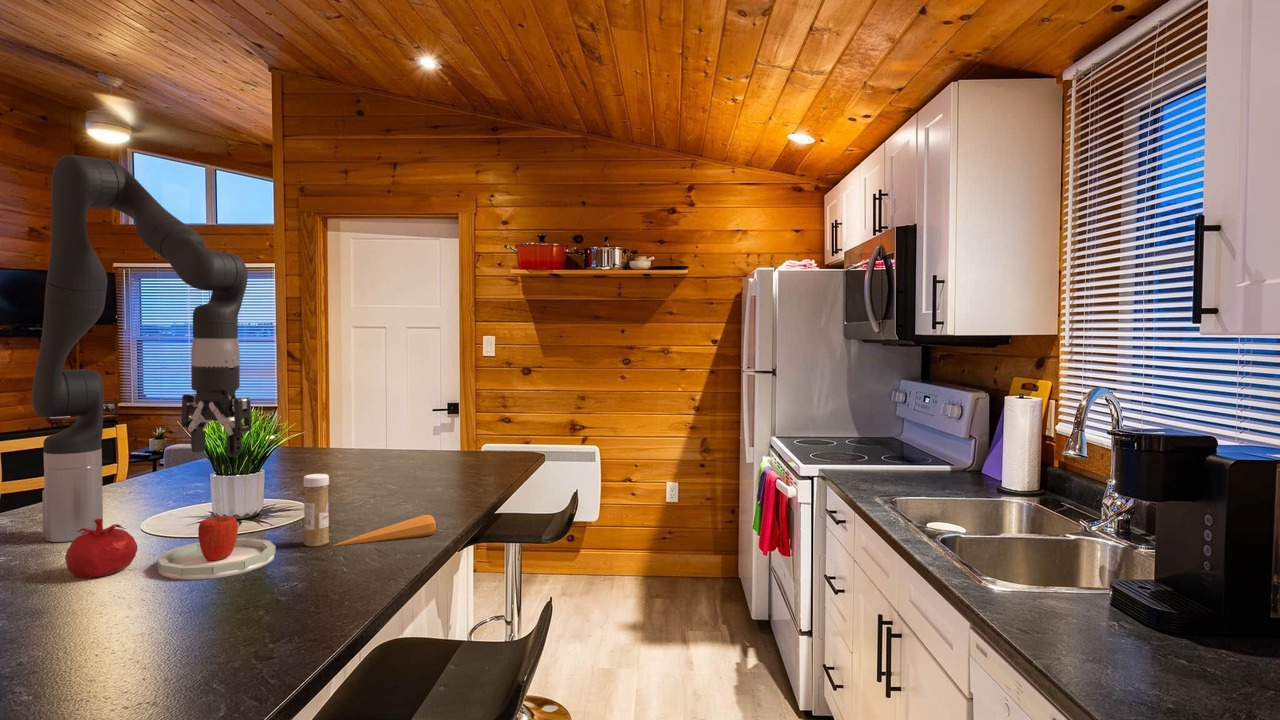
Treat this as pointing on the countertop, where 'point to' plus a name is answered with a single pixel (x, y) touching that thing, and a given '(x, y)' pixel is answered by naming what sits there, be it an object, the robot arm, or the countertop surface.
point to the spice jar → (316, 509)
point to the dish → (194, 565)
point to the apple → (217, 537)
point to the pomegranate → (100, 551)
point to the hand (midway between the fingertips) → (216, 453)
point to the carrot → (398, 531)
